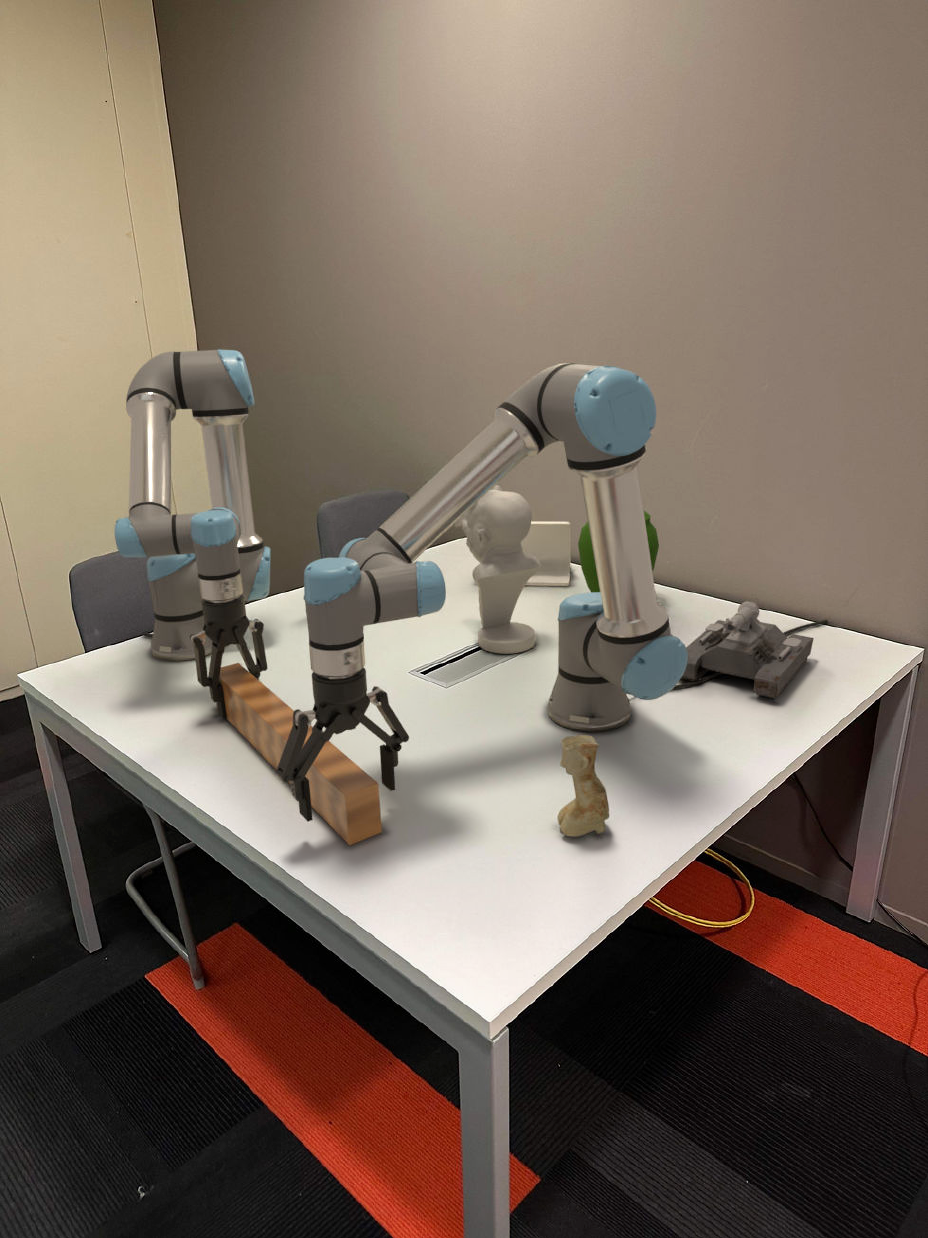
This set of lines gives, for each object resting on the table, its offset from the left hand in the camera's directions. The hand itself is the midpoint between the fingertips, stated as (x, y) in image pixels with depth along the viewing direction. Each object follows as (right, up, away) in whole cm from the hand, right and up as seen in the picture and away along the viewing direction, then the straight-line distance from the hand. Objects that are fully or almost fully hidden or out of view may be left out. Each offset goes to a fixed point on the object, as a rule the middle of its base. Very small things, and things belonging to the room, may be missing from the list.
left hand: (238, 710), depth 164 cm
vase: (+82, +21, +51) cm, 98 cm away
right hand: (+26, -9, -38) cm, 47 cm away
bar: (+13, -7, -18) cm, 23 cm away
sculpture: (+61, -13, -39) cm, 73 cm away
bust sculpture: (+50, +13, +31) cm, 60 cm away
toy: (+101, +7, +12) cm, 102 cm away
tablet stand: (+60, +30, +75) cm, 101 cm away
